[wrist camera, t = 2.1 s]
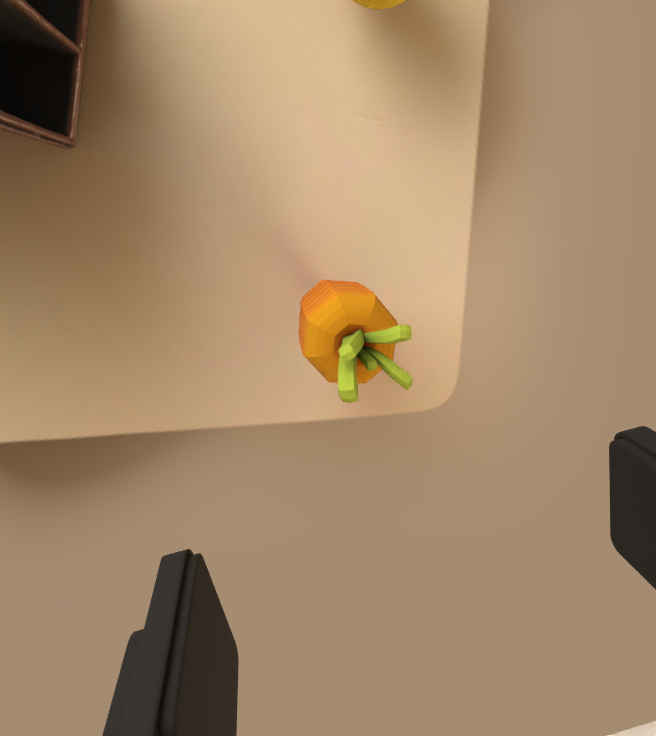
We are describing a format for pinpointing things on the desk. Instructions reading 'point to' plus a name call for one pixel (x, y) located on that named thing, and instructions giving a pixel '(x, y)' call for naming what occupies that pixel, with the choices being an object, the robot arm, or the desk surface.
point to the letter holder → (42, 68)
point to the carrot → (350, 336)
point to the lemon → (379, 3)
